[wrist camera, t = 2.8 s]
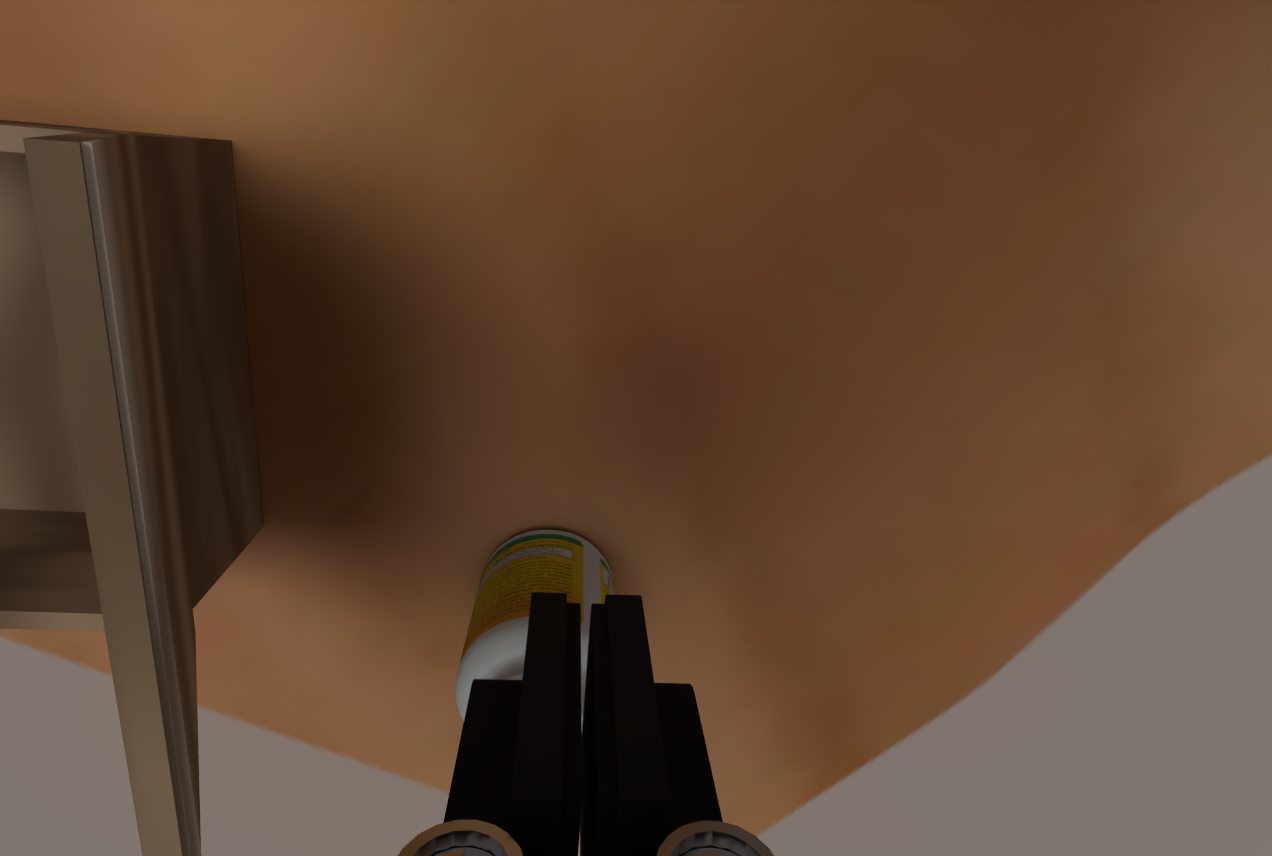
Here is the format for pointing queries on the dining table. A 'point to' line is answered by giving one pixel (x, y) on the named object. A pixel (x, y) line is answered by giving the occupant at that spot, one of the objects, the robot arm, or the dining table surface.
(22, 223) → the wooden box
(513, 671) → the supplement bottle
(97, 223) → the lid
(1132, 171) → the dining table surface
